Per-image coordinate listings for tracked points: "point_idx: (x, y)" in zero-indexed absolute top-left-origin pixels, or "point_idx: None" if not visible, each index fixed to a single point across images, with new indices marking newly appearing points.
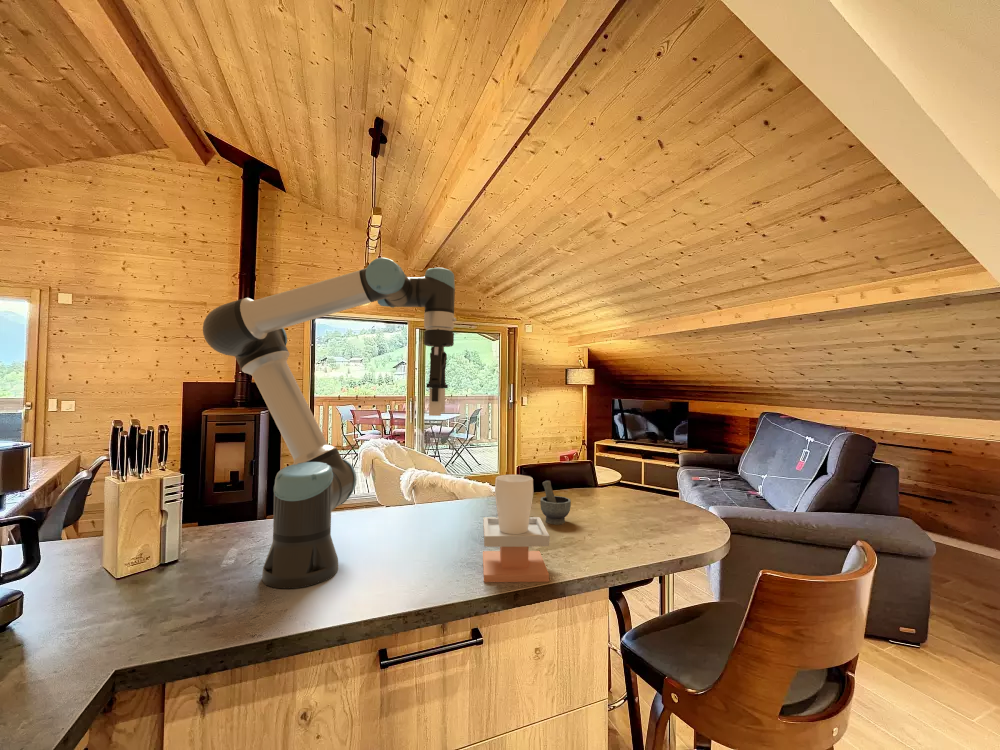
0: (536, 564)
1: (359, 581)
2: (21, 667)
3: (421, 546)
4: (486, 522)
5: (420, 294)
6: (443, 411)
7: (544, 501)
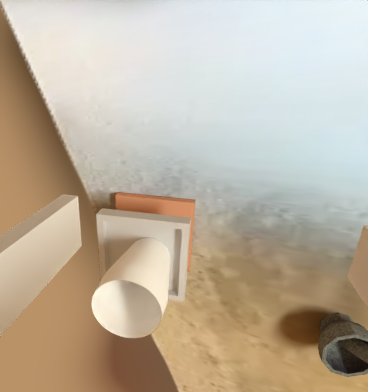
0: None
1: (120, 25)
2: None
3: (253, 109)
4: (160, 225)
5: None
6: (352, 276)
7: (342, 337)
